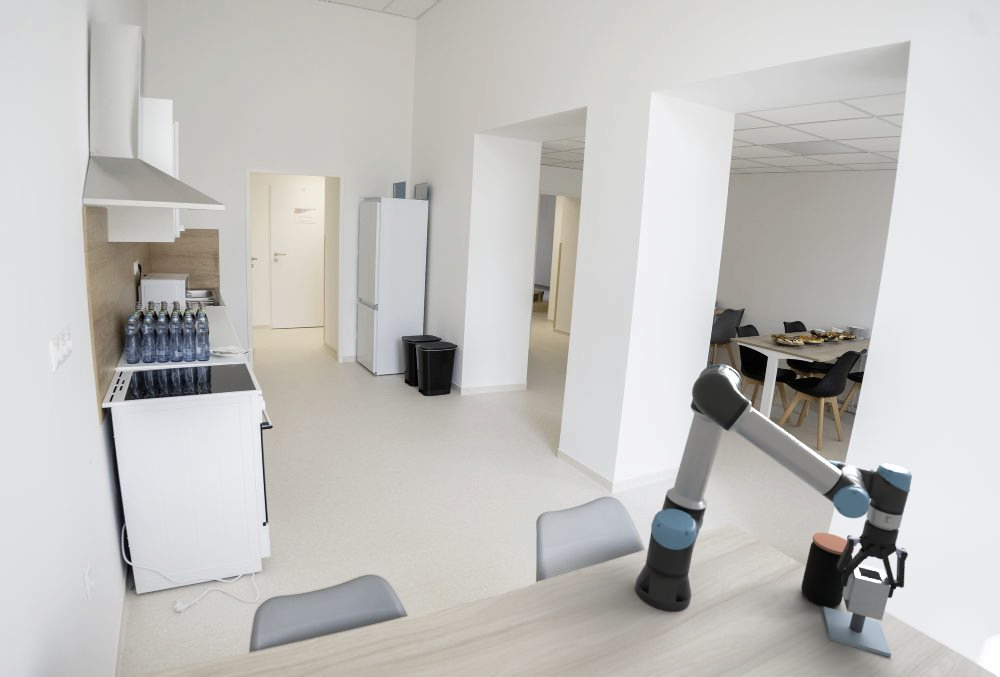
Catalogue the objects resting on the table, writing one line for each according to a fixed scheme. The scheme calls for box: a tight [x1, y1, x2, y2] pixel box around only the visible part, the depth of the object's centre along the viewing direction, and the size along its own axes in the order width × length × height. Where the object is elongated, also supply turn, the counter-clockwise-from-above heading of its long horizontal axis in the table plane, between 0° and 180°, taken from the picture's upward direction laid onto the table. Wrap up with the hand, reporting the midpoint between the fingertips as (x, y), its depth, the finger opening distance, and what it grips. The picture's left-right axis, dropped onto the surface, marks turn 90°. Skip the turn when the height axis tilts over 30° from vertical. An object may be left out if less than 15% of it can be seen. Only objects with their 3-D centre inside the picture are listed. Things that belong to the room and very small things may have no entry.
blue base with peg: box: [822, 607, 892, 658], centre depth 166 cm, size 14×14×13 cm
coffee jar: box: [800, 532, 855, 609], centre depth 180 cm, size 11×11×18 cm
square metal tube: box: [842, 564, 891, 622], centre depth 165 cm, size 8×8×10 cm
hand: (862, 601), depth 165 cm, fingers closed on square metal tube, 8 cm apart
